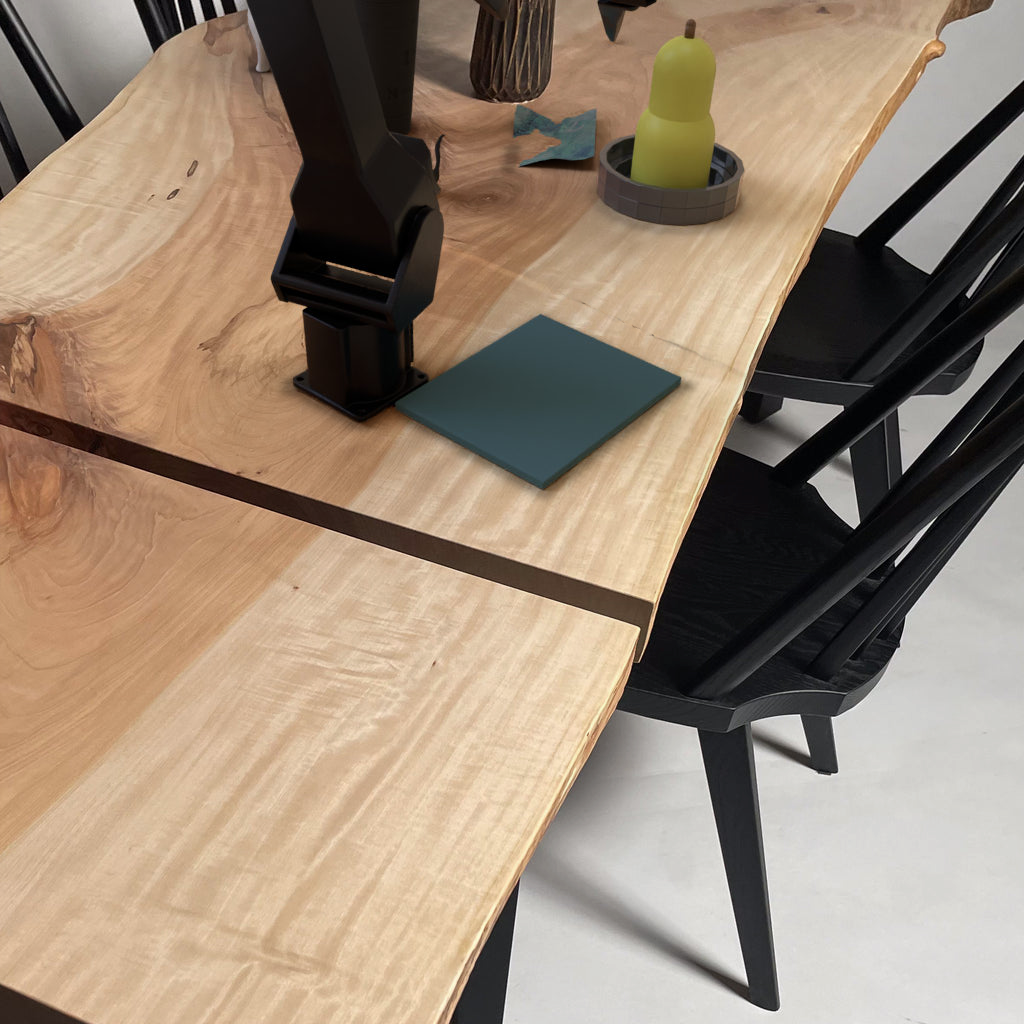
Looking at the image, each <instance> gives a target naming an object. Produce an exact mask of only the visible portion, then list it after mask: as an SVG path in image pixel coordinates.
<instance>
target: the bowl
mask: <svg viewBox="0 0 1024 1024" xmlns="http://www.w3.org/2000/svg"><path fill="white" fill-rule="evenodd" d="M635 134H636V133H633V134H629V135H625V136H621V137H618V138H615V139H613V140H610V141H609V142H607V143H606V144H605V145H604V146H603V147H602V149H601V150H600V151H599V155H598V165H597V166H598V167H597V176H596V177H597V178H596V193H597V195H598V196H599V198H600V199H601V201H602V202H603V204H605V205H607V206H608V207H610V208H611V209H613V210H614V211H615V212H617V213H620V214H622V215H625V216H627V217H630V218H633V219H635V220H641V221H645V222H649V223H654V224H660V225H672V226H689V225H702V224H707V223H711V222H714V221H718V220H722V219H723V218H725V217H726V216H728V215H730V214H732V213H733V212H734V211H735V210H736V208H737V206H738V205H739V202H740V198H741V192H742V189H743V188H742V187H743V182H744V176H745V171H746V169H745V166H744V162H743V160H742V159H741V157H739V156H738V155H737V154H736V153H735V152H734V151H733V150H732V149H729V148H727V147H725V146H724V145H722V144H719V143H718V142H714V148H713V154H712V160H711V166H710V172H709V178H708V184H707V188H694V189H677V188H663V187H658V186H653V185H648V184H643V183H640V182H638V181H635V180H632V179H630V177H631V168H632V160H633V151H634V143H635Z"/></svg>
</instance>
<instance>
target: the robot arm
mask: <svg viewBox="0 0 1024 1024" xmlns="http://www.w3.org/2000/svg"><path fill="white" fill-rule="evenodd" d="M245 1H246V4H247V8H249V10H250V13H251V16H252V18H253V21H254V24H255V27H256V30H257V32H258V35H259V38H260V41H261V43H262V46H263V49H264V52H265V55H266V57H267V60H268V63H269V66H270V68H269V69H270V71H271V74H272V77H273V78H274V83H275V86H276V88H277V90H278V94H279V96H280V99H281V101H282V104H283V107H284V110H285V112H286V116H287V118H288V121H289V124H290V126H291V129H292V132H293V135H294V137H295V141H296V143H297V147H298V148H299V152H300V155H301V161H302V162H301V165H300V166H299V169H298V172H297V175H296V177H295V180H294V181H293V185H292V187H291V190H290V192H289V200H290V205H291V209H292V215H291V218H290V221H289V223H288V226H287V229H286V231H285V235H284V238H283V240H282V243H281V246H280V249H279V252H278V254H277V258H276V259H275V263H274V267H273V269H272V271H271V274H270V283H271V285H272V287H273V290H274V292H275V295H276V297H277V300H278V301H279V302H281V303H282V302H283V303H286V304H288V303H291V304H294V305H298V306H301V307H304V308H303V309H302V310H301V311H302V323H303V324H302V325H303V333H304V334H303V335H304V345H305V355H306V367H307V369H306V370H304V371H302V372H300V373H299V374H296V375H295V376H293V377H292V385H293V387H294V388H295V389H297V390H299V391H301V392H303V393H304V394H305V395H308V396H310V397H312V398H313V399H315V400H316V401H319V402H320V403H322V404H324V405H325V406H327V407H329V408H331V409H333V410H335V411H336V412H338V413H340V414H341V415H343V416H345V417H346V418H349V419H351V420H352V421H354V422H356V423H361V424H362V423H367V421H370V420H371V419H373V418H374V417H376V416H377V415H379V414H381V413H383V412H384V411H386V410H388V409H389V408H391V407H392V406H395V402H397V401H398V400H400V399H401V398H403V397H405V396H406V395H408V394H410V393H411V392H413V391H415V390H416V389H418V388H420V387H421V386H423V385H424V384H426V383H428V382H429V381H430V380H429V379H430V377H429V374H428V373H426V372H425V371H422V370H420V369H418V368H417V367H414V366H413V365H412V364H413V363H414V361H415V350H414V348H415V347H414V321H415V320H416V319H417V318H418V317H419V316H421V314H422V313H423V312H425V310H426V309H427V308H428V307H429V306H431V304H432V303H433V301H434V298H435V293H436V286H437V280H438V273H439V267H440V260H441V256H442V248H443V241H444V235H445V221H444V217H443V214H442V212H441V210H440V209H441V208H440V203H439V199H438V197H437V196H438V195H440V194H441V192H442V189H441V187H440V185H439V184H438V182H437V183H436V180H435V177H434V174H433V170H434V168H433V159H432V152H431V149H430V148H429V146H428V145H427V143H426V141H425V140H424V138H420V137H417V136H416V137H415V136H410V135H407V134H406V135H402V134H398V133H393V132H389V131H388V129H387V127H386V123H385V119H384V115H383V111H382V108H381V104H380V100H379V96H378V93H377V89H376V85H375V81H374V78H373V74H372V70H371V66H370V63H369V59H368V55H367V51H366V48H365V44H364V40H363V36H362V33H361V29H360V25H359V21H358V18H357V14H356V10H355V6H354V2H353V0H245ZM473 1H474V2H475V3H477V4H478V5H479V6H480V7H481V8H483V9H484V10H485V11H487V12H488V13H489V14H490V15H492V17H494V18H495V19H497V20H498V21H499V22H506V20H507V17H508V16H509V12H510V7H509V0H473ZM657 1H658V0H597V1H596V3H597V6H598V10H599V14H600V17H601V21H602V24H603V28H604V32H605V35H606V37H607V38H608V40H609V41H610V42H612V43H615V42H616V41H617V39H618V36H619V34H620V31H621V28H622V25H623V21H624V17H625V15H626V12H635V11H637V10H638V9H639V8H640V7H641V8H648V7H650V6H652V5H654V4H656V3H657ZM329 263H331V264H329ZM333 264H334V265H333ZM340 266H342V267H340ZM343 267H345V268H343ZM347 268H349V269H347ZM351 269H352V270H351ZM362 272H363V273H362ZM364 272H365V273H364ZM366 273H367V274H366ZM370 274H371V275H370ZM382 277H383V278H382ZM385 278H387V279H385ZM389 279H391V280H389ZM392 280H393V281H392Z"/></svg>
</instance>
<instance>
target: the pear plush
mask: <svg viewBox="0 0 1024 1024" xmlns="http://www.w3.org/2000/svg"><path fill="white" fill-rule="evenodd" d="M696 28H697V22H696V20H695V19H692V18H690V19H688V20H687V21H686V22H685V26H684V35H682V34H681V35H678V36H675V37H673V38H671V39H669V40H668V41H666V43H664V44H663V45H662V46H661V48H660V49H659V50H658V52H657V53H656V56H655V58H654V62H653V66H652V75H651V82H650V83H651V84H650V92H649V100H648V106H647V107H646V108H645V109H644V110H643V112H642V114H641V115H640V117H639V119H638V122H637V125H636V128H635V133H634V134H635V143H634V151H633V160H632V168H631V177H630V179H632V180H635V181H638V182H640V183H643V184H648V185H653V186H658V187H663V188H677V189H694V188H707V184H708V178H709V172H710V166H711V160H712V154H713V148H714V142H715V141H716V126H715V121H714V119H713V116H712V114H711V105H712V99H713V94H714V88H715V80H716V76H717V75H716V74H717V61H716V60H717V59H716V56H715V53H714V51H713V49H712V48H711V46H710V45H709V44H708V43H707V42H706V41H705V40H704V39H702V38H700V37H698V36H695V35H696ZM715 143H716V142H715Z"/></svg>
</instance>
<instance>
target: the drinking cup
mask: <svg viewBox="0 0 1024 1024" xmlns="http://www.w3.org/2000/svg"><path fill="white" fill-rule="evenodd" d="M353 2H354V6H355V10H356V14H357V18H358V21H359V25H360V29H361V33H362V36H363V40H364V44H365V48H366V51H367V55H368V59H369V63H370V66H371V70H372V74H373V78H374V81H375V85H376V89H377V93H378V96H379V100H380V104H381V108H382V111H383V115H384V119H385V123H386V127H387V129H388V131H389V132H393V133H398V134H402V135H407V134H409V133H410V132H411V130H412V116H413V103H414V101H413V100H414V90H415V89H414V88H415V87H414V85H415V74H416V73H415V72H416V57H417V46H418V45H417V43H418V30H419V17H420V15H419V13H420V2H421V0H353Z"/></svg>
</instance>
